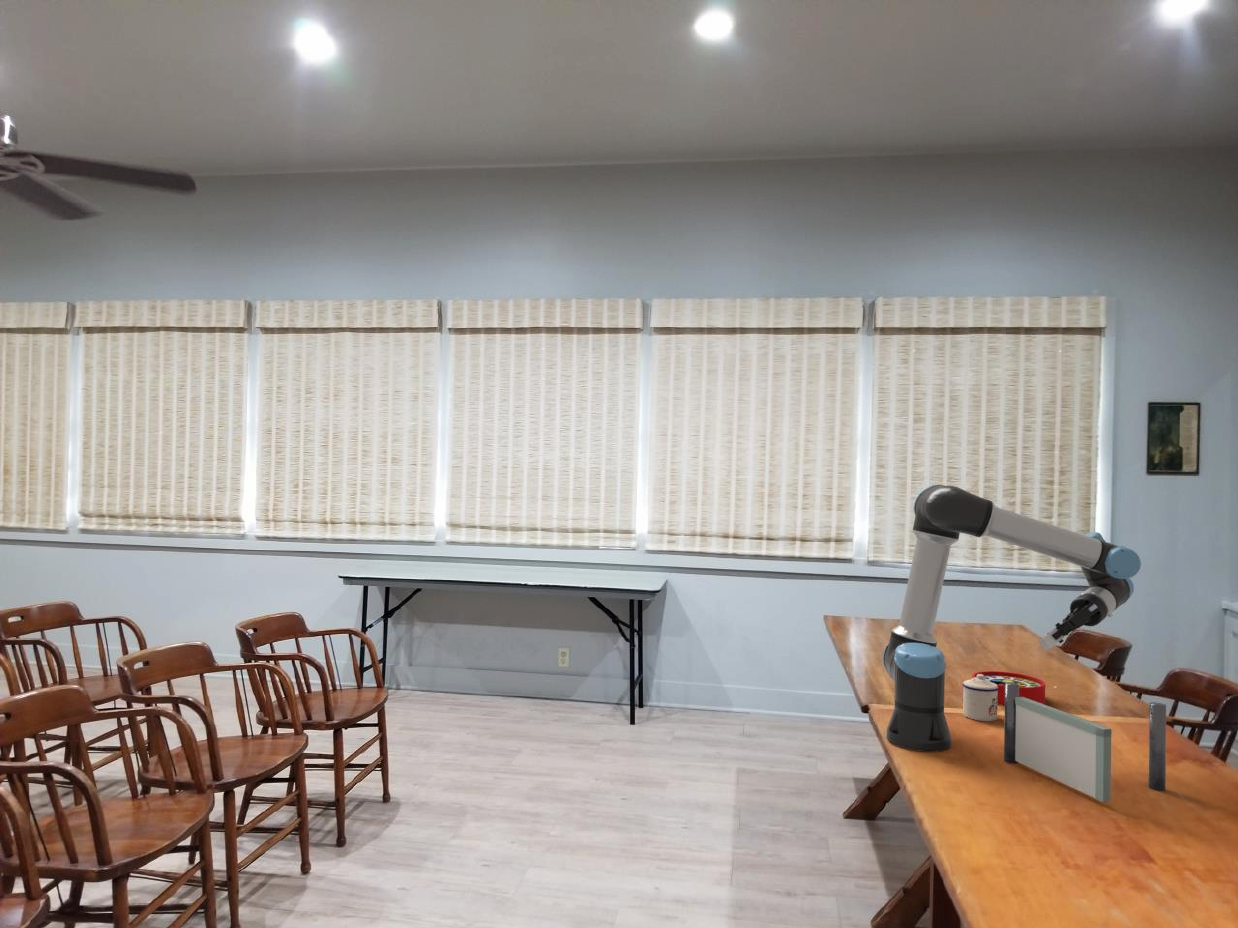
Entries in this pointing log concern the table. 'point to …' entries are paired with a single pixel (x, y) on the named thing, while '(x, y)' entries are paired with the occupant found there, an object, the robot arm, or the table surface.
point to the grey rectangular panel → (1064, 747)
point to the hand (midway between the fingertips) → (1044, 644)
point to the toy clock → (1027, 684)
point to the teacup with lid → (980, 699)
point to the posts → (1155, 736)
